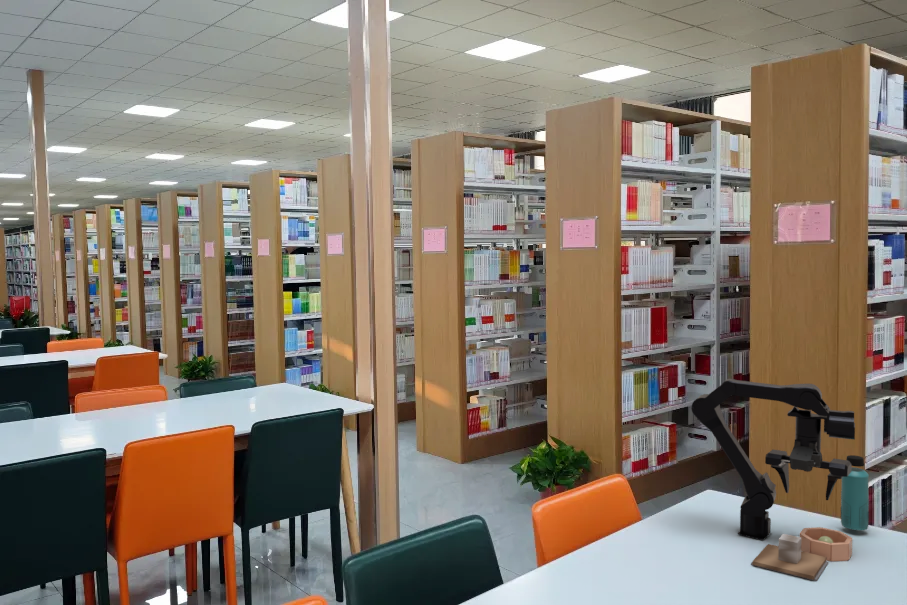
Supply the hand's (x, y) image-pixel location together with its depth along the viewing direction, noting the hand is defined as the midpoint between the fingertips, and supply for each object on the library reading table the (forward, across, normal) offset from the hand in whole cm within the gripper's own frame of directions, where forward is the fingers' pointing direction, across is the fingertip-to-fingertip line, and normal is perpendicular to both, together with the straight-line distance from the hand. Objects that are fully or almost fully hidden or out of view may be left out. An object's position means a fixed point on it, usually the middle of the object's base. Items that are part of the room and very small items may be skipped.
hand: (806, 496), depth 178 cm
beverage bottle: (+12, +8, +16) cm, 22 cm away
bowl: (+12, +5, -3) cm, 13 cm away
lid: (+12, 0, -16) cm, 20 cm away
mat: (+12, 0, -16) cm, 20 cm away
